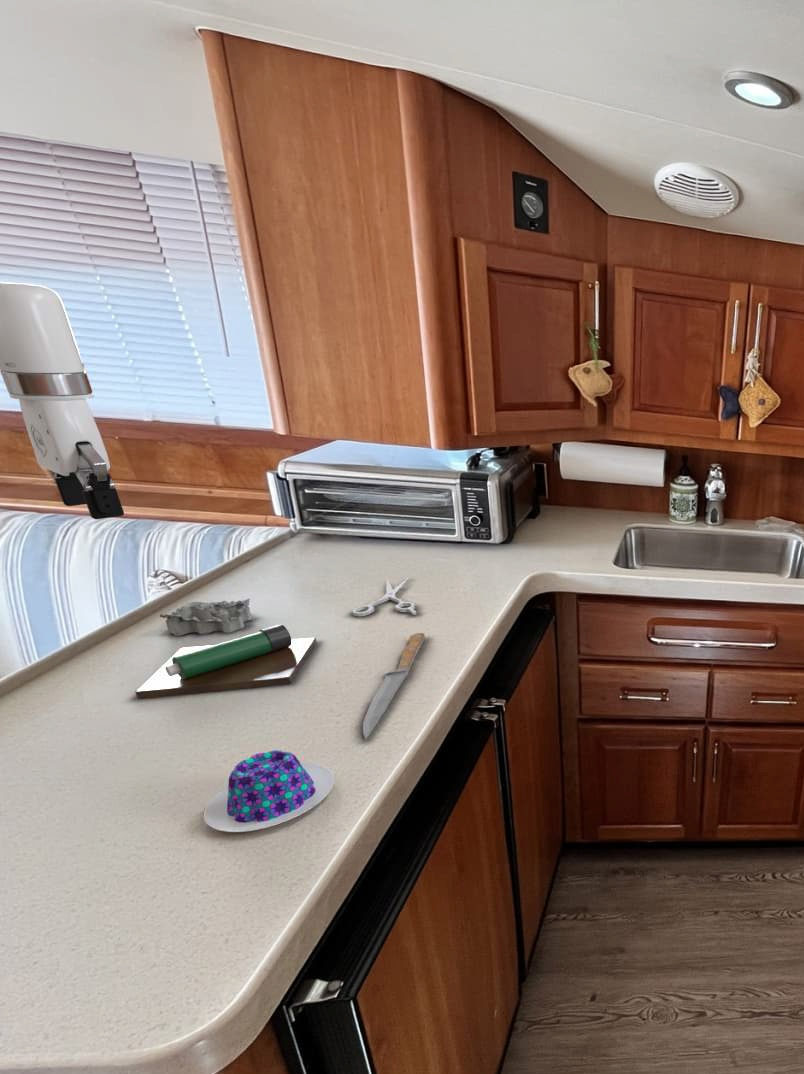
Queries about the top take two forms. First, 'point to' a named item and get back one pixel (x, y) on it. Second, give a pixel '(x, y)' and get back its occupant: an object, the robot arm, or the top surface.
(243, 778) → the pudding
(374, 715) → the knife
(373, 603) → the scissors
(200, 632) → the egg carton
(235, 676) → the board
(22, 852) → the top surface
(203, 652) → the marker
